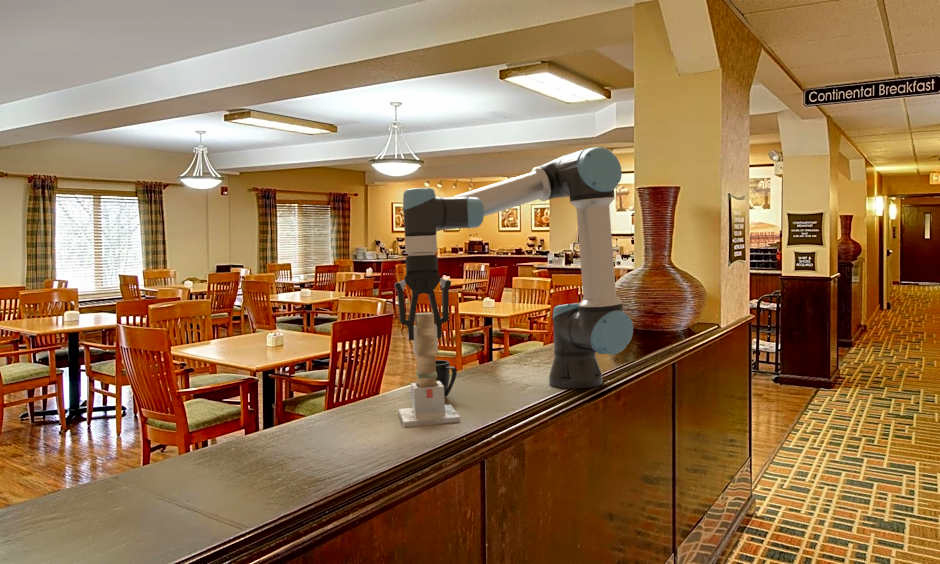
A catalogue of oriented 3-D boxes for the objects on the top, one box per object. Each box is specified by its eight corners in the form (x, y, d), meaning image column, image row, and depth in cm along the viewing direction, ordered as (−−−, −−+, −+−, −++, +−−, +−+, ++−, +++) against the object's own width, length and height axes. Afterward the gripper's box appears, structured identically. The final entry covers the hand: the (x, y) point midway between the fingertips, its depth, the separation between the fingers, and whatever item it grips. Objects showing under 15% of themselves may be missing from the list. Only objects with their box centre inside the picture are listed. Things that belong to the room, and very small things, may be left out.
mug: (444, 404, 174) (442, 367, 174) (414, 398, 183) (412, 363, 182) (466, 398, 180) (465, 362, 180) (436, 392, 189) (435, 359, 188)
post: (435, 390, 163) (431, 312, 162) (438, 394, 159) (434, 313, 158) (417, 391, 162) (413, 313, 161) (419, 395, 158) (415, 314, 157)
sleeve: (450, 409, 168) (449, 377, 168) (460, 421, 156) (458, 387, 155) (398, 413, 166) (397, 381, 165) (404, 427, 153) (402, 392, 153)
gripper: (454, 253, 164) (458, 348, 165) (383, 255, 161) (388, 353, 162) (459, 253, 157) (464, 352, 158) (386, 256, 153) (391, 357, 155)
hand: (425, 352), depth 160 cm, fingers closed on post, 4 cm apart
